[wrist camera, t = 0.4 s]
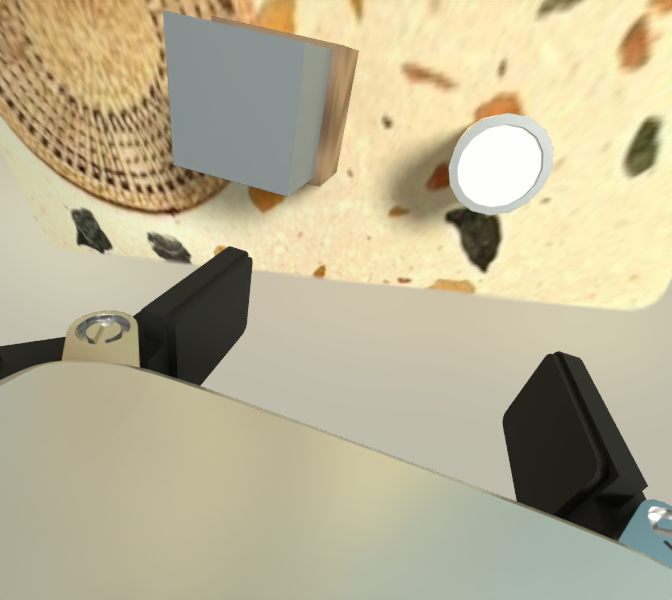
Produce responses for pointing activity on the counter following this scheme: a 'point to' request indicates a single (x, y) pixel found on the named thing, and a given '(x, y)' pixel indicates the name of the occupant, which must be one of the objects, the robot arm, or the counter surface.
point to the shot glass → (500, 163)
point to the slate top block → (244, 102)
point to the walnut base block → (334, 101)
